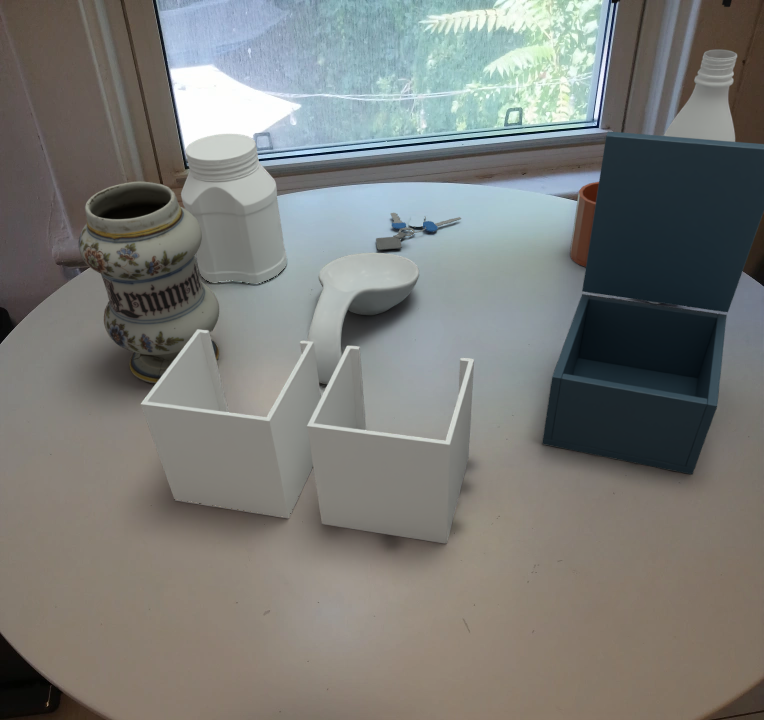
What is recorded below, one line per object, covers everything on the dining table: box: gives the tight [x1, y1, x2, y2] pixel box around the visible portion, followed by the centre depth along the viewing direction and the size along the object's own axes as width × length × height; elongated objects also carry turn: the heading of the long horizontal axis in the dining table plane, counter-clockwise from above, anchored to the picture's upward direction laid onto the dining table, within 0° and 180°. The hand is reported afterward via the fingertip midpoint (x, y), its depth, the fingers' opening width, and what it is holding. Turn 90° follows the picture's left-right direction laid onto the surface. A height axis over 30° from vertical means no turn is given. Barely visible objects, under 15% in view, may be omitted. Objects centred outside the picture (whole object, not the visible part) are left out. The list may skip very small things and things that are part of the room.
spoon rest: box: [306, 252, 420, 385], centre depth 82 cm, size 24×12×7 cm, turn 165°
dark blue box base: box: [541, 293, 728, 475], centre depth 69 cm, size 15×14×8 cm
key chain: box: [375, 212, 462, 251], centre depth 101 cm, size 14×8×1 cm, turn 131°
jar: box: [180, 133, 288, 286], centre depth 91 cm, size 12×10×15 cm
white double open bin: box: [140, 329, 475, 545], centre depth 63 cm, size 25×11×11 cm, turn 76°
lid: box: [582, 130, 764, 313], centre depth 66 cm, size 15×14×5 cm
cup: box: [569, 181, 599, 268], centre depth 91 cm, size 7×7×8 cm
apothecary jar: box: [77, 181, 220, 385], centre depth 75 cm, size 12×12×18 cm
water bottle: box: [646, 49, 738, 305], centre depth 78 cm, size 7×7×25 cm
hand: (670, 1), depth 67 cm, fingers open, 9 cm apart
